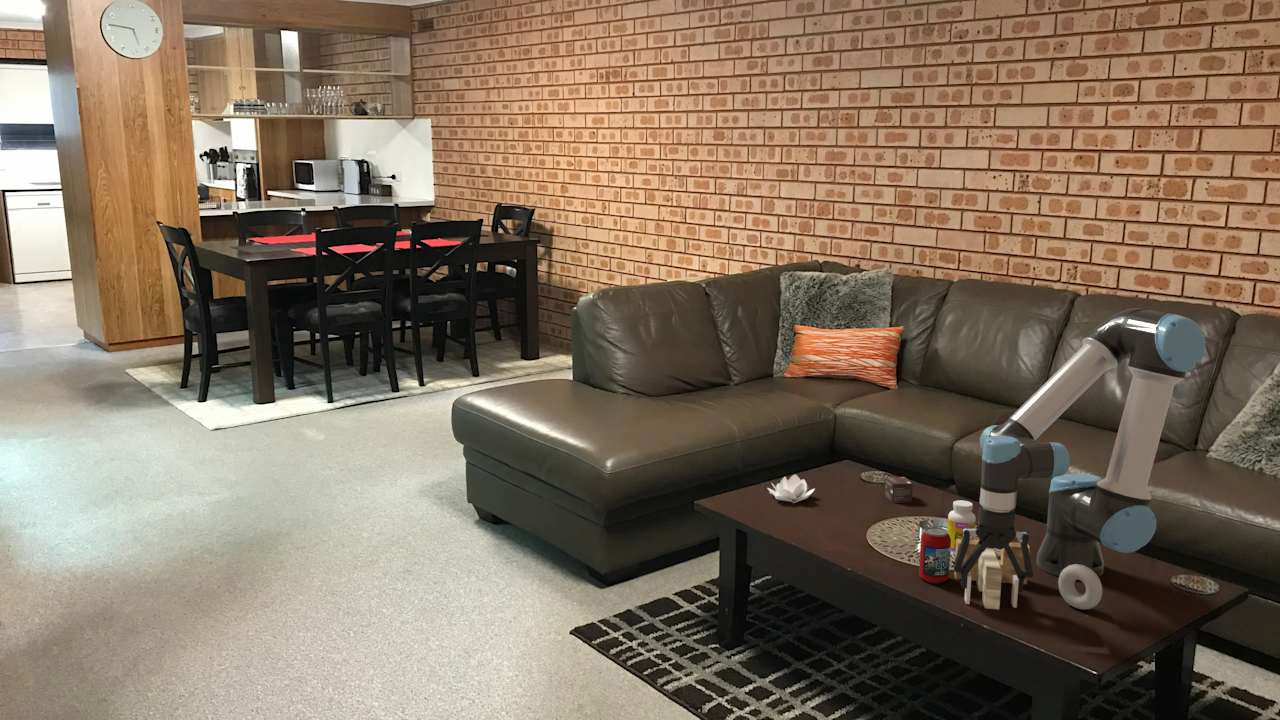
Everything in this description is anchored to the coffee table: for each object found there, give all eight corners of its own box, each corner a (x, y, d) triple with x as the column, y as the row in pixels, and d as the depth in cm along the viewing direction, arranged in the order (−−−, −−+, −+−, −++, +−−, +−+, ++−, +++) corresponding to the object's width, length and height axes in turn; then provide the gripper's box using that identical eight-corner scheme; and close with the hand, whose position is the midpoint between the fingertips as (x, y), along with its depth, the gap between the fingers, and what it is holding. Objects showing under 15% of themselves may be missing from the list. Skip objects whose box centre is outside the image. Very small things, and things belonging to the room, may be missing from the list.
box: (884, 501, 302) (885, 477, 301) (904, 500, 303) (905, 476, 302) (891, 508, 297) (892, 483, 295) (911, 507, 297) (913, 483, 296)
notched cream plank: (976, 583, 244) (978, 546, 242) (989, 584, 244) (992, 547, 242) (985, 608, 231) (987, 569, 229) (999, 609, 230) (1002, 570, 228)
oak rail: (1024, 579, 247) (1027, 543, 245) (1026, 584, 244) (1029, 547, 242) (954, 574, 249) (956, 538, 248) (955, 579, 246) (958, 543, 245)
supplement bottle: (950, 556, 260) (953, 507, 258) (942, 547, 267) (945, 499, 264) (977, 556, 261) (980, 507, 258) (968, 547, 267) (971, 498, 265)
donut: (1103, 614, 228) (1107, 570, 226) (1094, 618, 226) (1098, 574, 224) (1062, 598, 236) (1065, 556, 234) (1053, 602, 234) (1056, 560, 232)
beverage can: (928, 586, 242) (931, 537, 240) (913, 575, 249) (916, 527, 246) (954, 583, 244) (957, 534, 242) (938, 572, 251) (941, 524, 248)
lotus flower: (825, 511, 294) (826, 481, 292) (774, 515, 291) (775, 485, 289) (806, 495, 308) (807, 467, 306) (757, 499, 304) (758, 470, 303)
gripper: (1046, 504, 230) (1038, 600, 234) (943, 498, 234) (937, 592, 238) (1053, 515, 223) (1045, 614, 227) (947, 509, 227) (940, 606, 231)
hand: (990, 603), depth 233 cm, fingers open, 9 cm apart
